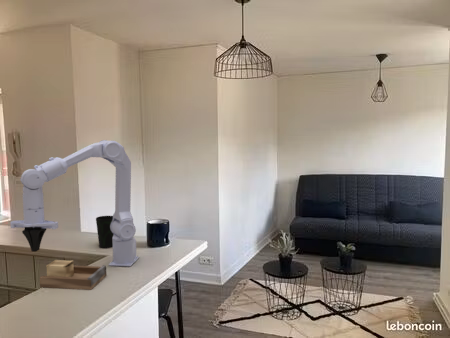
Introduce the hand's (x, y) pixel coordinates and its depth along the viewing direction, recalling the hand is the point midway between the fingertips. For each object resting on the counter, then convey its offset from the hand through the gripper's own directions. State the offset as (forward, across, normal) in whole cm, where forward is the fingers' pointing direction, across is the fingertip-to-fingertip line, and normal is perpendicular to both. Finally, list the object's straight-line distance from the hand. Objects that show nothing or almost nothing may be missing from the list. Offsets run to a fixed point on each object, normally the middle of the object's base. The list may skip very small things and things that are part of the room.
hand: (35, 250), depth 117 cm
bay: (+9, +12, 0) cm, 16 cm away
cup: (+10, +8, +36) cm, 38 cm away
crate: (+8, +8, 0) cm, 11 cm away
